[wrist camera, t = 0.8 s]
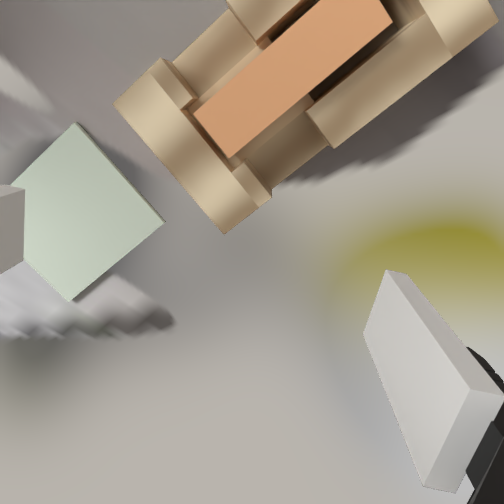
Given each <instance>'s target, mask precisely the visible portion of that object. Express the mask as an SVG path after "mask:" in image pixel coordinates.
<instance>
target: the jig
mask: <svg viewBox="0 0 504 504" xmlns="http://www.w3.org/2000/svg"><path fill="white" fill-rule="evenodd" d="M319 1H320V0H226V2H227V5H228V7H229V8H228V9H227V10H226V11H225V12H224V13H223V14H222V15H221V16H220V17H219V18H218V19H217V20H216V21H215V22H214V23H213V24H212V25H211V26H209V27H208V28H207V29H206V30H205V31H204V32H203V33H202V34H201V35H200V36H199V37H198V38H197V39H196V40H195V41H194V42H193V43H192V44H191V45H190V46H188V47H187V48H186V49H185V50H184V51H183V52H182V53H181V54H180V55H179V56H178V57H177V58H176V59H175V60H174V61H173V62H172V63H171V62H169V61H167V60H165V59H163V58H159V59H158V60H157V61H156V62H155V63H154V64H153V65H152V66H151V67H150V68H149V69H148V70H147V71H146V72H145V73H144V74H143V75H142V76H141V77H140V78H139V79H138V80H136V81H135V82H134V83H133V84H132V85H131V86H130V87H129V88H128V89H127V90H126V91H125V92H124V93H123V94H122V95H121V96H120V97H119V98H118V99H117V100H116V101H115V102H114V103H113V104H112V105H113V106H114V107H115V108H116V109H117V110H118V112H119V113H120V114H121V115H122V116H123V117H124V119H125V120H126V121H127V122H128V123H129V124H130V126H131V127H132V128H133V129H134V130H135V131H136V133H137V134H138V135H139V136H140V137H141V138H142V140H143V141H144V142H145V143H146V144H147V145H148V147H149V148H150V149H151V150H152V151H153V152H154V154H155V155H156V156H157V157H158V158H159V159H160V161H161V162H162V163H163V164H164V165H165V166H166V168H167V169H168V170H169V171H170V172H171V174H172V175H173V176H174V177H175V178H176V179H177V181H178V182H179V183H180V184H181V185H182V186H183V188H184V189H185V190H186V191H187V192H188V193H189V194H190V196H191V197H192V198H193V199H194V200H195V202H196V203H197V204H198V205H199V206H200V207H201V209H202V210H203V211H204V212H205V213H206V214H207V215H208V217H209V218H210V219H211V220H212V221H213V222H214V224H215V225H216V226H217V227H218V228H219V230H220V231H221V232H222V233H223V234H226V233H227V232H228V231H229V230H231V229H232V228H233V227H235V226H236V225H237V224H238V223H240V222H241V221H242V220H243V219H245V218H246V217H247V216H249V215H250V214H251V213H253V212H254V211H255V210H256V209H258V208H259V207H260V206H262V205H263V204H264V203H265V202H267V201H268V200H269V199H271V198H272V189H273V188H274V187H275V186H276V185H278V184H279V183H280V182H282V181H283V180H284V179H285V178H287V177H288V176H289V175H290V174H292V173H293V172H294V171H296V170H297V169H298V168H299V167H301V166H302V165H303V164H305V163H306V162H307V161H308V160H310V159H311V158H312V157H313V156H315V155H316V154H317V153H319V152H320V151H321V150H322V149H324V148H325V147H326V146H328V145H329V146H330V147H332V148H334V149H335V148H336V147H338V146H339V145H340V144H341V143H343V142H344V141H345V140H347V139H348V138H349V137H350V136H352V135H353V134H354V133H356V132H357V131H358V130H359V129H361V128H362V127H363V126H365V125H366V124H367V123H369V122H370V121H371V120H372V119H374V118H375V117H376V116H378V115H379V114H380V113H381V112H383V111H384V110H385V109H387V108H388V107H389V106H390V105H392V104H393V103H394V102H396V101H397V100H398V99H399V98H401V97H402V96H403V95H405V94H406V93H407V92H408V91H410V90H411V89H412V88H414V87H415V86H416V85H417V84H419V83H420V82H421V81H423V80H424V79H425V78H426V77H428V76H429V75H430V74H432V73H433V72H434V71H435V70H437V69H438V68H439V67H441V66H442V65H443V64H444V63H446V62H447V61H448V60H450V59H451V58H452V57H454V56H455V55H456V54H457V53H459V52H460V51H461V50H463V49H464V48H465V47H466V46H468V45H469V44H470V43H472V42H473V41H474V40H475V39H477V38H478V37H479V36H481V35H482V34H483V33H484V32H486V31H487V30H488V29H490V28H491V27H492V26H493V25H495V24H496V23H497V22H499V20H498V18H497V16H496V14H495V13H494V11H493V9H492V7H491V5H490V4H489V2H488V0H379V1H380V2H381V4H382V5H383V7H384V9H385V10H386V12H387V13H388V15H389V17H390V18H391V20H392V21H393V22H392V23H391V24H390V25H389V26H388V27H386V28H385V29H384V30H383V31H382V32H380V33H379V34H378V35H377V36H376V37H374V38H373V39H372V40H371V41H370V42H368V43H367V44H366V45H365V46H364V47H362V48H361V49H360V50H359V51H358V52H356V53H355V54H354V55H353V56H352V57H350V58H349V59H348V60H347V61H346V62H344V63H343V64H342V65H341V66H340V67H338V68H337V69H336V70H335V71H334V72H332V73H331V74H330V75H329V76H328V77H326V78H325V79H324V80H323V81H322V82H320V83H319V84H318V85H317V86H316V87H314V88H313V89H312V90H311V91H310V92H308V93H307V94H306V95H305V96H304V97H302V98H301V99H300V100H299V101H298V102H296V103H295V104H294V105H293V106H292V107H290V108H289V109H288V110H287V111H286V112H284V113H283V114H282V115H281V116H280V117H278V118H277V119H276V120H275V121H274V122H272V123H271V124H270V125H269V126H268V127H266V128H265V129H264V130H263V131H262V132H260V133H259V134H258V135H257V136H255V137H254V138H253V139H252V140H251V141H249V142H248V143H247V144H246V145H245V146H243V147H242V148H241V149H240V150H239V151H237V152H236V153H235V154H234V155H233V156H231V157H230V158H228V157H227V156H226V154H225V153H224V152H223V151H222V149H221V148H220V147H219V146H218V144H217V143H216V142H215V141H214V140H213V138H212V137H211V136H210V135H209V133H208V132H207V131H206V130H205V128H204V127H203V126H202V125H201V123H200V122H199V121H198V120H197V118H196V117H195V116H194V115H193V113H195V112H196V111H197V110H198V109H199V108H200V107H201V106H202V105H203V104H205V103H206V102H207V101H208V100H209V99H210V98H211V97H212V96H214V95H215V94H216V93H217V92H218V91H219V90H220V89H221V88H223V87H224V86H225V85H226V84H227V83H228V82H229V81H230V80H231V79H233V78H234V77H235V76H236V75H237V74H238V73H239V72H240V71H242V70H243V69H244V68H245V67H246V66H247V65H248V64H249V63H251V62H252V61H253V60H254V59H255V58H256V57H257V56H258V55H259V54H261V53H262V52H263V51H264V50H265V49H266V48H267V47H268V46H270V45H271V44H272V43H273V42H274V41H275V40H276V39H277V38H278V37H280V36H281V35H282V34H283V33H284V32H285V31H286V30H287V29H289V28H290V27H291V26H292V25H293V24H294V23H295V22H296V21H298V20H299V19H300V18H301V17H302V16H303V15H304V14H305V13H306V12H308V11H309V10H310V9H311V8H312V7H313V6H314V5H315V4H317V3H318V2H319Z"/></svg>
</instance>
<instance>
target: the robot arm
mask: <svg viewBox="0 0 504 504" xmlns="http://www.w3.org/2000/svg"><path fill="white" fill-rule="evenodd" d="M24 217H25V189H22V188H18V187H13V186H8V185H4V184H3V185H0V274H2V273H3V272H5V271H7V270H8V269H10V268H12V267H13V266H15V265H17V264H18V263H20V262H22V261H23V255H24ZM363 336H364V339H365V341H366V344H367V346H368V349H369V352H370V354H371V357H372V359H373V362H374V364H375V367H376V369H377V372H378V374H379V377H380V379H381V382H382V384H383V387H384V389H385V392H386V395H387V397H388V400H389V402H390V404H391V407H392V410H393V412H394V415H395V417H396V419H397V422H398V425H399V427H400V430H401V432H402V435H403V437H404V440H405V443H406V445H407V448H408V450H409V453H410V455H411V458H412V460H413V463H414V465H415V468H416V470H417V473H418V475H419V478H420V480H421V483H422V486H423V487H427V488H432V489H437V490H441V491H446V492H451V493H456V491H457V489H458V488H459V486H460V484H461V482H462V480H463V478H464V476H465V474H466V473H467V475H468V477H469V479H470V481H471V483H472V485H473V487H474V489H475V490H474V492H473V493H472V495H471V497H470V499H469V501H468V503H467V504H504V383H503V380H502V379H501V378H500V376H499V375H498V374H496V373H495V371H494V369H493V368H492V367H491V366H490V365H489V364H488V362H487V361H486V360H485V359H484V358H483V357H481V356H480V355H478V354H477V353H476V352H475V351H473V350H472V349H470V348H469V347H465V345H464V344H463V343H462V342H461V341H460V339H459V338H458V337H457V336H456V334H455V333H454V332H453V331H452V329H451V328H450V327H449V326H448V325H447V323H446V322H445V321H444V320H443V318H442V317H441V316H440V314H439V313H438V312H437V311H436V310H435V308H434V307H433V306H432V305H431V303H430V302H429V301H428V300H427V298H426V297H425V296H424V295H423V294H422V292H421V291H420V290H419V289H418V287H417V286H416V285H415V284H414V282H413V281H412V280H411V279H410V278H409V276H408V275H407V274H404V273H400V272H396V271H391V270H387V269H386V271H385V274H384V277H383V279H382V282H381V285H380V288H379V290H378V293H377V296H376V299H375V302H374V305H373V307H372V310H371V313H370V316H369V319H368V321H367V324H366V327H365V330H364V333H363Z"/></svg>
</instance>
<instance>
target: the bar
mask: <svg viewBox="0 0 504 504" xmlns="http://www.w3.org/2000/svg"><path fill="white" fill-rule="evenodd" d="M392 22H393V21H392V20H391V18H390V17H389V15H388V13H387V12H386V10H385V9H384V7H383V5H382V4H381V2H380V1H379V0H320V1H319V2H318V3H317V4H315V5H314V6H313V7H312V8H311V9H310V10H309V11H308V12H306V13H305V14H304V15H303V16H302V17H301V18H300V19H299V20H298V21H296V22H295V23H294V24H293V25H292V26H291V27H290V28H289V29H287V30H286V31H285V32H284V33H283V34H282V35H281V36H280V37H278V38H277V39H276V40H275V41H274V42H273V43H272V44H271V45H270V46H268V47H267V48H266V49H265V50H264V51H263V52H262V53H261V54H259V55H258V56H257V57H256V58H255V59H254V60H253V61H252V62H251V63H249V64H248V65H247V66H246V67H245V68H244V69H243V70H242V71H240V72H239V73H238V74H237V75H236V76H235V77H234V78H233V79H231V80H230V81H229V82H228V83H227V84H226V85H225V86H224V87H223V88H221V89H220V90H219V91H218V92H217V93H216V94H215V95H214V96H212V97H211V98H210V99H209V100H208V101H207V102H206V103H205V104H203V105H202V106H201V107H200V108H199V109H198V110H197V111H196V112H195V113H193V115H194V116H195V117H196V118H197V120H198V121H199V122H200V123H201V125H202V126H203V127H204V128H205V130H206V131H207V132H208V133H209V135H210V136H211V137H212V138H213V140H214V141H215V142H216V143H217V144H218V146H219V147H220V148H221V149H222V151H223V152H224V153H225V154H226V156H227V157H228V158H230V157H231V156H233V155H234V154H235V153H236V152H237V151H239V150H240V149H241V148H242V147H243V146H245V145H246V144H247V143H248V142H249V141H251V140H252V139H253V138H254V137H255V136H257V135H258V134H259V133H260V132H262V131H263V130H264V129H265V128H266V127H268V126H269V125H270V124H271V123H272V122H274V121H275V120H276V119H277V118H278V117H280V116H281V115H282V114H283V113H284V112H286V111H287V110H288V109H289V108H290V107H292V106H293V105H294V104H295V103H296V102H298V101H299V100H300V99H301V98H302V97H304V96H305V95H306V94H307V93H308V92H310V91H311V90H312V89H313V88H314V87H316V86H317V85H318V84H319V83H320V82H322V81H323V80H324V79H325V78H326V77H328V76H329V75H330V74H331V73H332V72H334V71H335V70H336V69H337V68H338V67H340V66H341V65H342V64H343V63H344V62H346V61H347V60H348V59H349V58H350V57H352V56H353V55H354V54H355V53H356V52H358V51H359V50H360V49H361V48H362V47H364V46H365V45H366V44H367V43H368V42H370V41H371V40H372V39H373V38H374V37H376V36H377V35H378V34H379V33H380V32H382V31H383V30H384V29H385V28H386V27H388V26H389V25H390V24H391V23H392Z"/></svg>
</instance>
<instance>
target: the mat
mask: <svg viewBox="0 0 504 504" xmlns="http://www.w3.org/2000/svg"><path fill="white" fill-rule="evenodd" d="M10 186H13V187H18V188H22V189H25V217H24V255H23V259H24V260H25V261H26V262H27V263H28V264H29V265H30V266H31V267H32V268H33V269H34V270H35V271H36V272H38V273H39V274H40V275H41V276H42V277H43V278H44V279H45V280H46V281H47V282H48V283H49V284H50V285H51V286H52V287H53V288H54V289H55V290H56V291H57V292H58V293H59V294H60V295H61V296H62V297H63V298H64V299H65V300H66V301H67V302H69V301H71V300H72V299H73V298H74V297H75V296H77V295H78V294H79V293H80V292H81V291H83V290H84V289H85V288H86V287H88V286H89V285H90V284H91V283H92V282H94V281H95V280H96V279H97V278H98V277H100V276H101V275H102V274H103V273H105V272H106V271H107V270H108V269H109V268H111V267H112V266H113V265H114V264H115V263H117V262H118V261H119V260H120V259H122V258H123V257H124V256H125V255H126V254H128V253H129V252H130V251H131V250H132V249H133V248H135V247H136V246H137V245H138V244H140V243H141V242H142V241H143V240H144V239H145V238H147V237H148V236H149V235H151V234H152V233H153V232H154V231H155V230H157V229H158V228H159V227H160V226H162V225H163V224H164V223H165V222H166V221H165V220H164V219H163V218H162V217H161V216H160V215H159V214H158V212H157V211H156V210H155V209H154V208H153V207H152V206H151V204H150V203H149V202H148V201H147V200H146V199H145V198H144V197H143V195H142V194H141V193H140V192H139V191H138V190H137V189H136V188H135V187H134V185H133V184H132V183H131V182H130V181H129V180H128V179H127V178H126V176H125V175H124V174H123V173H122V172H121V171H120V170H119V169H118V167H117V166H116V165H115V164H114V163H113V162H112V161H111V160H110V158H109V157H108V156H107V155H106V154H105V153H104V152H103V151H102V149H101V148H100V147H99V146H98V145H97V144H96V143H95V142H94V140H93V139H92V138H91V137H90V136H89V135H88V134H87V133H86V132H85V130H84V129H83V128H82V127H81V126H80V125H79V124H78V123H77V122H74V123H73V124H72V125H71V126H70V127H69V128H68V129H67V130H66V131H65V132H64V133H63V134H62V135H61V136H60V137H59V138H58V139H57V140H56V141H55V142H54V143H53V144H52V145H51V146H50V147H49V148H48V149H47V150H46V151H45V152H44V153H42V154H41V155H40V156H39V157H38V158H37V159H36V160H35V161H34V162H33V163H32V164H31V165H30V166H29V167H28V168H27V169H26V170H25V171H24V172H23V173H22V174H21V175H20V176H19V177H18V178H17V179H16V180H15V181H14V182H13V183H12V184H11V185H10Z"/></svg>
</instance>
